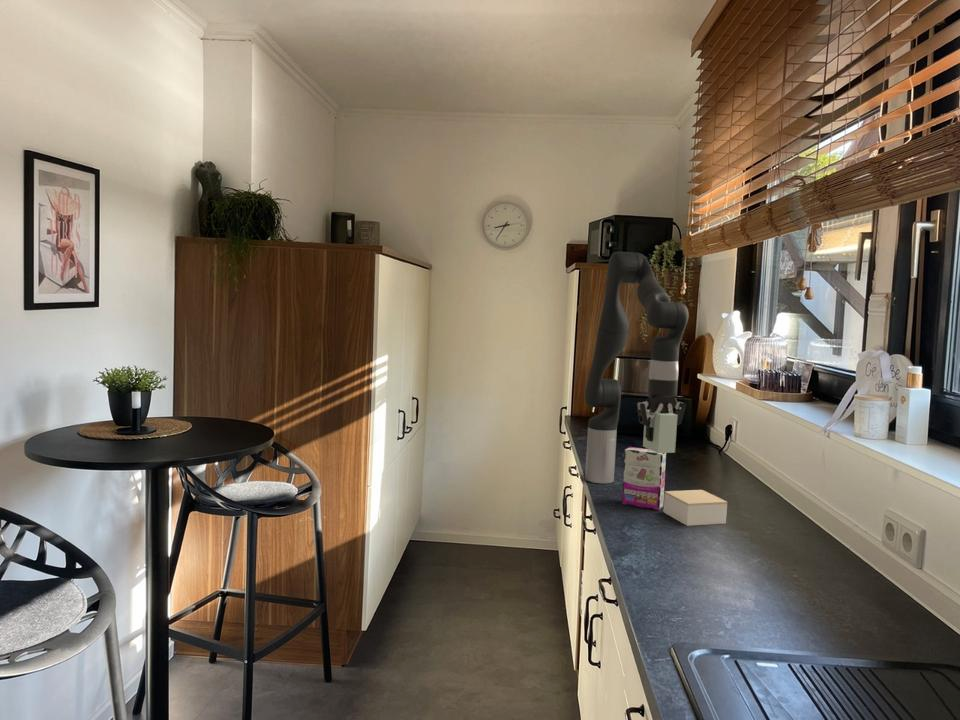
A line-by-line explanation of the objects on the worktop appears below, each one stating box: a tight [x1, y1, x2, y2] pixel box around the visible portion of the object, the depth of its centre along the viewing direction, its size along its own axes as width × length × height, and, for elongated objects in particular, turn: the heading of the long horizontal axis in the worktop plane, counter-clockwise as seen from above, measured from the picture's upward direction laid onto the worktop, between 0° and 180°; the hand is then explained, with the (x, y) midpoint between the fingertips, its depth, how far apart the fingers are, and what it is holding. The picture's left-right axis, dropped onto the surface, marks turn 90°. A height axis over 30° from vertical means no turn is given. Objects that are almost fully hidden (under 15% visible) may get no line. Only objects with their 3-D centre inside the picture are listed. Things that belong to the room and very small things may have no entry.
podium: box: [663, 489, 728, 527], centre depth 203 cm, size 12×12×6 cm
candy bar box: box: [621, 446, 667, 511], centre depth 212 cm, size 11×5×16 cm, turn 62°
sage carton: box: [642, 409, 678, 454], centre depth 196 cm, size 8×5×10 cm, turn 16°
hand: (659, 440), depth 196 cm, fingers closed on sage carton, 5 cm apart
